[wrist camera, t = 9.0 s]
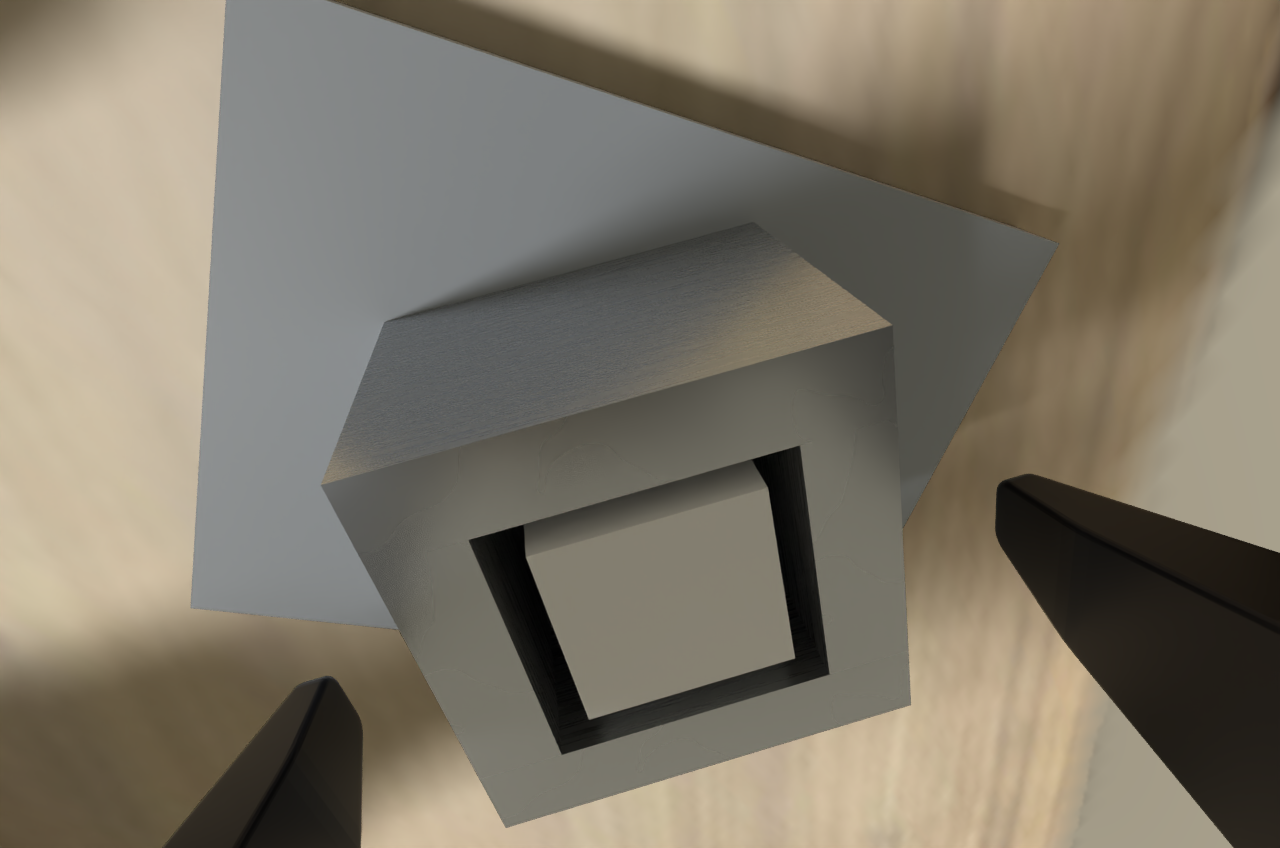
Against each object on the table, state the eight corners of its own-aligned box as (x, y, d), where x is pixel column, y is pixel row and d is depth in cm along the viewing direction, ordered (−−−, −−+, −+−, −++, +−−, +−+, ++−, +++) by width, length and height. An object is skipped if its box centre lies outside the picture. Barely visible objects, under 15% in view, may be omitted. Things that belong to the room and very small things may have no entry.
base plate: (805, 638, 19) (926, 877, 14) (212, 568, 15) (52, 867, 10) (1019, 228, 15) (1324, 343, 9) (254, -26, 11) (3, -86, 5)
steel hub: (795, 516, 16) (910, 705, 11) (503, 601, 15) (506, 828, 11) (753, 221, 12) (892, 324, 8) (384, 322, 12) (320, 485, 8)
